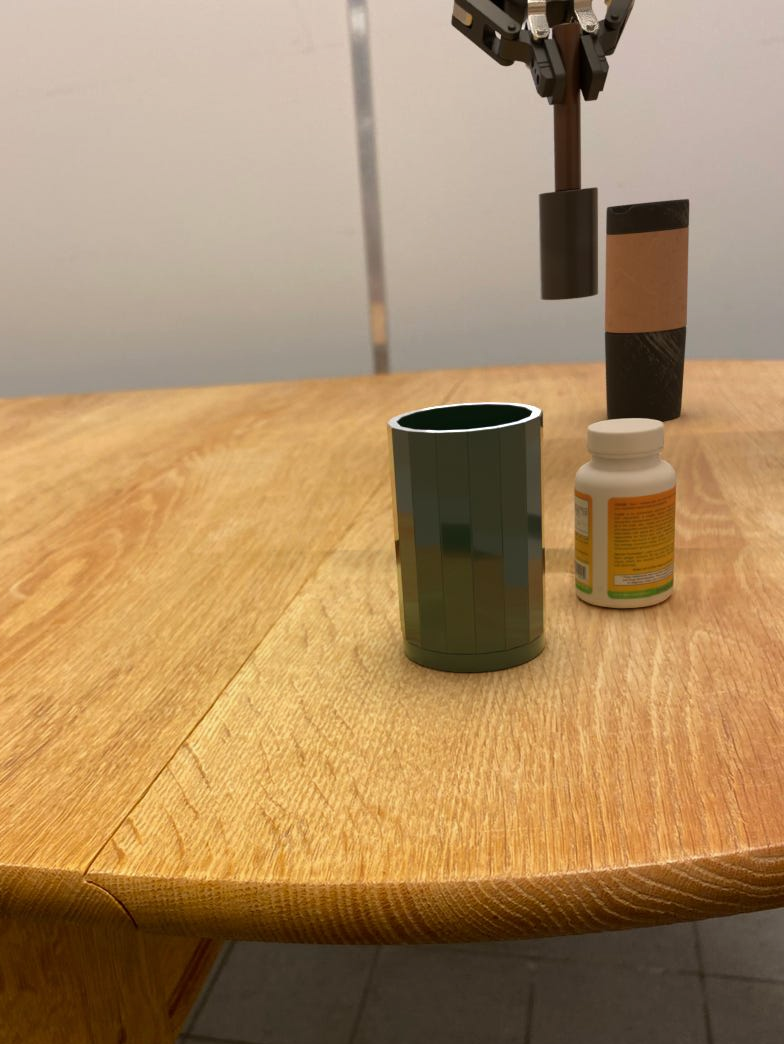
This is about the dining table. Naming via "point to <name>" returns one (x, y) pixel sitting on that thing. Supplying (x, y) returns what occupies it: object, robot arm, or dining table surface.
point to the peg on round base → (568, 193)
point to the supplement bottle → (625, 516)
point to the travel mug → (646, 308)
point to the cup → (469, 534)
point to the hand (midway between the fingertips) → (577, 90)
